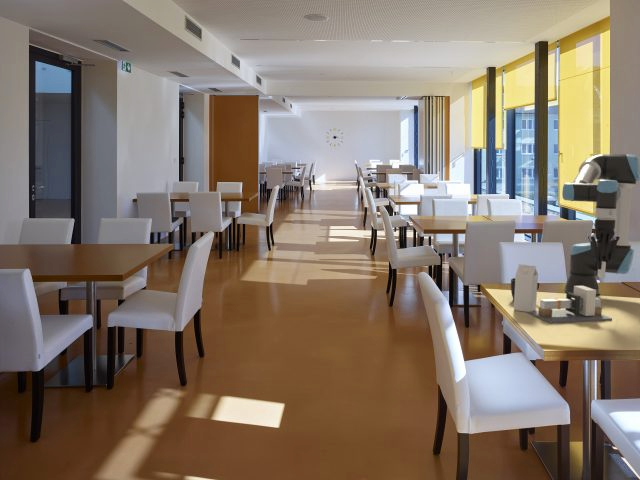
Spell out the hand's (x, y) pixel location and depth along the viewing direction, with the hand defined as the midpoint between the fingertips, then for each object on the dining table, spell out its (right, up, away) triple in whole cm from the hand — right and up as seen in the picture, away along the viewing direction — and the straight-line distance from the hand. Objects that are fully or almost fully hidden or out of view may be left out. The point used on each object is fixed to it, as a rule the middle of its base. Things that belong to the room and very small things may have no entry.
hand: (601, 277), depth 276 cm
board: (-13, -16, 0) cm, 20 cm away
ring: (-12, -14, 0) cm, 18 cm away
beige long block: (-13, -16, 0) cm, 20 cm away
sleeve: (-7, -14, +1) cm, 16 cm away
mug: (-23, -12, +27) cm, 37 cm away
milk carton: (-27, -14, +10) cm, 33 cm away
